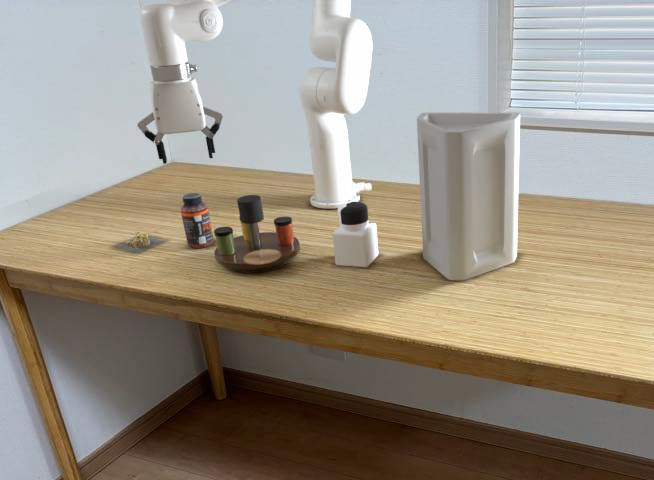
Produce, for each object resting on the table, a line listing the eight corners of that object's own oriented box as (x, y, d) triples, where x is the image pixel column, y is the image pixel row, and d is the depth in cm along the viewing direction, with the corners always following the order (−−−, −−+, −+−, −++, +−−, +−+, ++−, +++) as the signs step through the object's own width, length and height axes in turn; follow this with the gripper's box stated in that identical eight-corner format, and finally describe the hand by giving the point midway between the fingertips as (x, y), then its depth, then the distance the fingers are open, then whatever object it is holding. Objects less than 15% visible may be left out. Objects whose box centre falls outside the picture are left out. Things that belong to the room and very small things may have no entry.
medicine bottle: (379, 255, 163) (374, 199, 157) (367, 268, 158) (362, 211, 151) (348, 252, 165) (342, 197, 159) (335, 265, 160) (328, 209, 153)
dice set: (140, 238, 181) (138, 230, 180) (155, 242, 179) (153, 234, 178) (123, 245, 178) (121, 237, 177) (137, 249, 175) (135, 241, 174)
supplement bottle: (211, 248, 173) (201, 199, 167) (185, 249, 173) (174, 200, 167) (217, 239, 178) (207, 190, 172) (191, 240, 178) (181, 192, 172)
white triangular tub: (408, 277, 152) (400, 131, 137) (428, 249, 164) (422, 112, 149) (504, 283, 147) (506, 132, 132) (517, 254, 159) (520, 112, 144)
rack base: (286, 245, 171) (285, 239, 171) (292, 267, 161) (291, 260, 160) (227, 254, 169) (226, 247, 169) (230, 276, 159) (228, 269, 158)
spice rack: (210, 246, 169) (199, 193, 163) (290, 232, 173) (282, 180, 167) (222, 277, 154) (211, 220, 147) (310, 261, 158) (302, 205, 152)
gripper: (213, 66, 159) (228, 150, 168) (127, 74, 156) (147, 160, 166) (215, 71, 153) (230, 159, 162) (125, 80, 150) (146, 169, 159)
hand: (188, 159), depth 164 cm, fingers open, 9 cm apart
